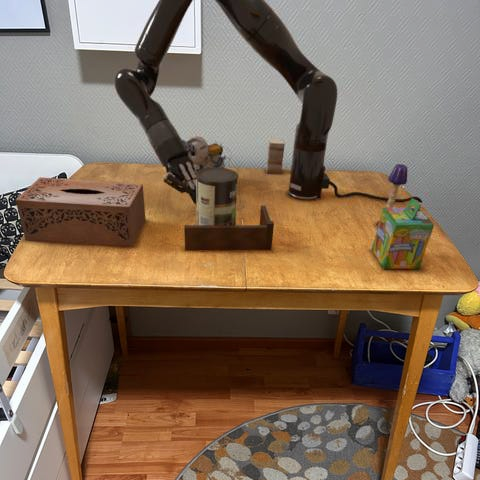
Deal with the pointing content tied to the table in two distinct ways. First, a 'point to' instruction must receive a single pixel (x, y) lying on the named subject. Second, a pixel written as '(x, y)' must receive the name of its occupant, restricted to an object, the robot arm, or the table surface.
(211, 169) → the coffee can
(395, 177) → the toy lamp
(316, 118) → the robot arm
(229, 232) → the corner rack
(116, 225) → the tissue box cover
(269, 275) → the table surface
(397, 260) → the chalk box
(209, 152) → the robotic toy
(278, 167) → the brown banded block
